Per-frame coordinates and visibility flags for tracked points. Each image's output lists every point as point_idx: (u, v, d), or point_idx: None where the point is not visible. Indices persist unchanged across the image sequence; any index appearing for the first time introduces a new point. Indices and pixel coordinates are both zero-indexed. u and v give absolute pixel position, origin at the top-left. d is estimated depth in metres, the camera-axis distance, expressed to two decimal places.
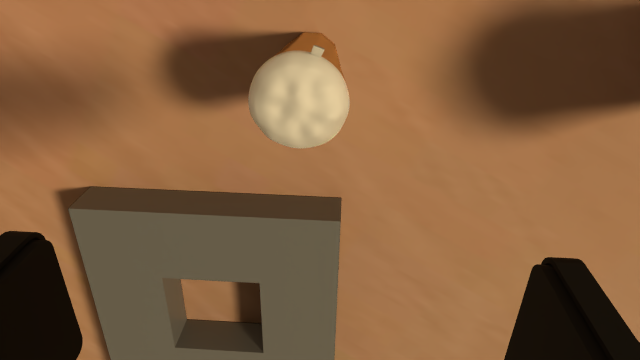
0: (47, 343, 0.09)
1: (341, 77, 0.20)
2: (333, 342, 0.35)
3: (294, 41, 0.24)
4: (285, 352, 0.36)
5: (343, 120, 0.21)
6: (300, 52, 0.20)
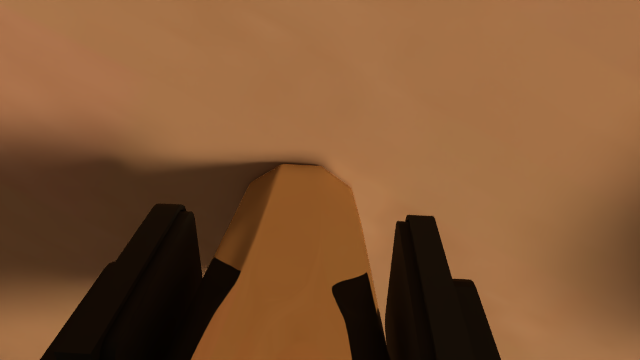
0: None
1: None
2: None
3: (253, 229, 0.09)
4: None
5: None
6: None
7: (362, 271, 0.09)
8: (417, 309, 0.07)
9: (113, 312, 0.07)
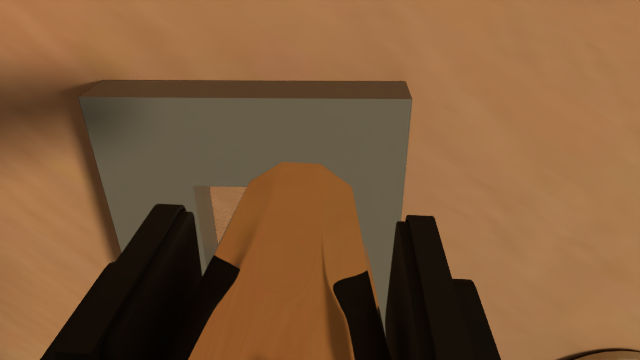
0: None
1: None
2: None
3: (253, 227, 0.09)
4: None
5: None
6: None
7: (362, 268, 0.09)
8: (417, 309, 0.07)
9: (113, 312, 0.07)
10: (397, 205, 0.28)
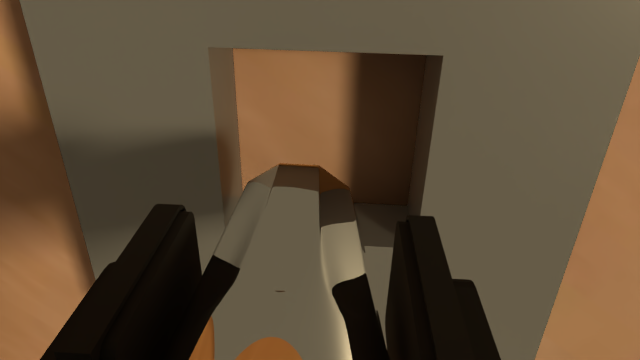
0: None
1: None
2: (579, 219, 0.16)
3: (251, 229, 0.09)
4: (463, 245, 0.17)
5: None
6: None
7: (361, 270, 0.09)
8: (417, 309, 0.07)
9: (113, 312, 0.07)
10: (614, 100, 0.14)
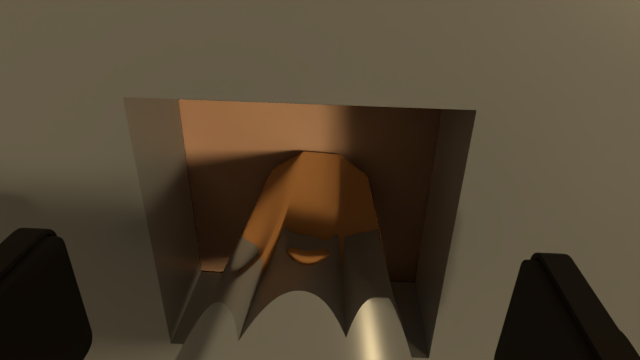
0: (59, 338, 0.09)
1: None
2: None
3: (279, 208, 0.10)
4: (494, 355, 0.12)
5: None
6: None
7: (378, 248, 0.10)
8: None
9: None
10: None
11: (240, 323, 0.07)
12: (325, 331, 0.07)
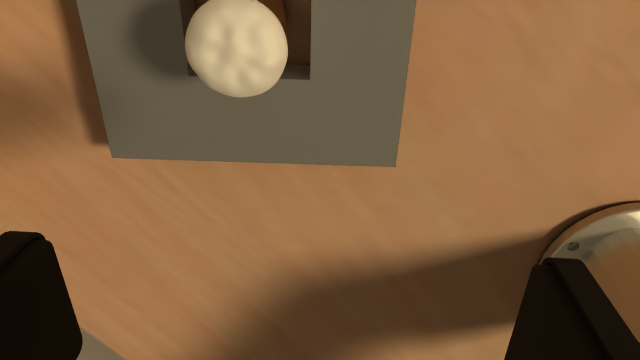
0: (47, 343, 0.09)
1: (278, 23, 0.20)
2: (407, 55, 0.26)
3: None
4: (339, 76, 0.26)
5: (281, 68, 0.21)
6: None
7: (278, 5, 0.24)
8: None
9: None
10: None
11: None
12: None
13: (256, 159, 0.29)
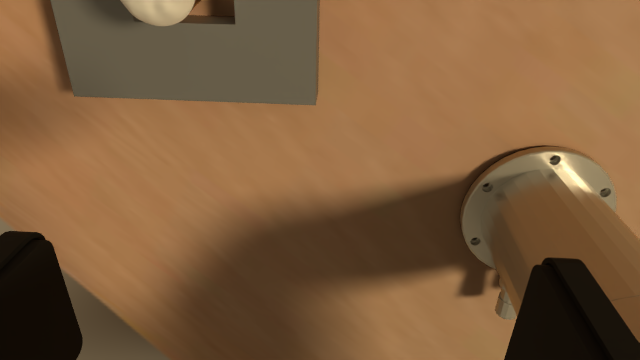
0: (47, 343, 0.09)
1: None
2: (315, 2, 0.30)
3: None
4: (260, 21, 0.31)
5: None
6: None
7: None
8: None
9: None
10: None
11: None
12: None
13: (195, 97, 0.34)
